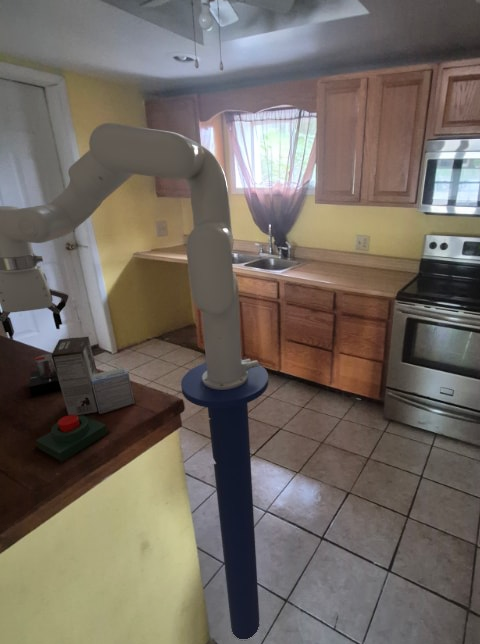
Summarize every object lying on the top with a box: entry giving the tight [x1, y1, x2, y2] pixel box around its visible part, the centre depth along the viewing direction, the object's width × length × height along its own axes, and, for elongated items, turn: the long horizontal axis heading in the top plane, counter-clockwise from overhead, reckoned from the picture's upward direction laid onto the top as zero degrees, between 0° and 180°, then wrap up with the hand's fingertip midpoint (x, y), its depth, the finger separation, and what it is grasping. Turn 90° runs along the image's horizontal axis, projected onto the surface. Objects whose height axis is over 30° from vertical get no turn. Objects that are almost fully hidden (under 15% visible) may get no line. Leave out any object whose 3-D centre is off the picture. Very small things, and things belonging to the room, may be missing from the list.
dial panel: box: [28, 369, 62, 398], centre depth 98 cm, size 9×9×3 cm
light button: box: [57, 414, 80, 432], centre depth 76 cm, size 4×4×2 cm
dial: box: [34, 353, 57, 379], centre depth 97 cm, size 4×4×5 cm
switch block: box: [35, 414, 108, 463], centre depth 77 cm, size 10×8×4 cm
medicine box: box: [91, 366, 136, 415], centre depth 88 cm, size 8×4×9 cm, turn 125°
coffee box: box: [51, 336, 99, 416], centre depth 87 cm, size 9×6×16 cm
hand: (35, 330), depth 92 cm, fingers open, 9 cm apart
